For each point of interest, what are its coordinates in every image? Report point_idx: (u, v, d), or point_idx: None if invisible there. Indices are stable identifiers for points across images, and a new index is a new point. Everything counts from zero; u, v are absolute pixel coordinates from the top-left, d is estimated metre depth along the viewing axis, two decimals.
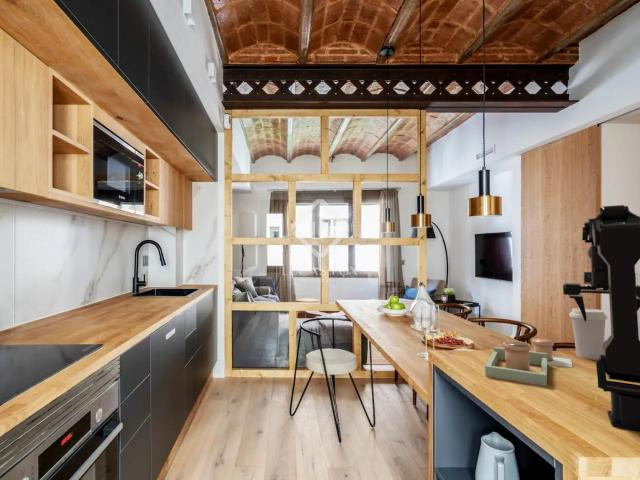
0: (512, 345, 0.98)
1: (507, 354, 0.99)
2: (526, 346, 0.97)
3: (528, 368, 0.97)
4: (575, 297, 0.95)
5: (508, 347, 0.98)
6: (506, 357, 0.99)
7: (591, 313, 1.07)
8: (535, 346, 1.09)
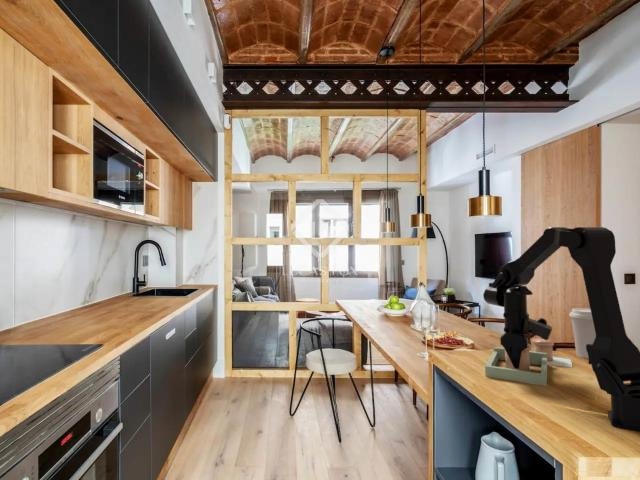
0: None
1: (507, 354, 0.99)
2: None
3: (528, 368, 0.97)
4: None
5: None
6: (506, 357, 0.99)
7: None
8: (535, 346, 1.09)
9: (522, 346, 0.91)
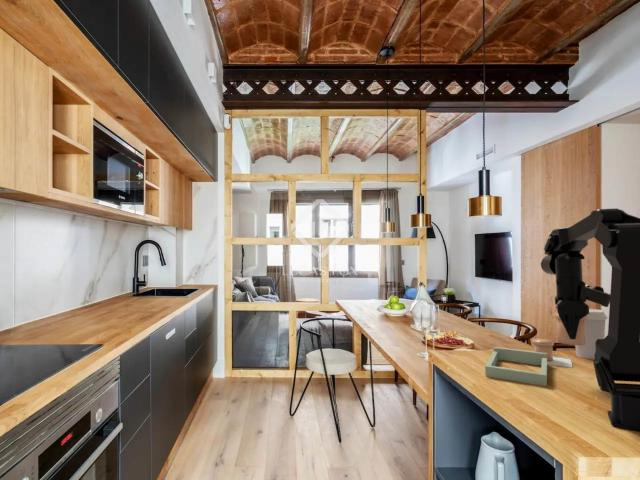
0: None
1: (561, 324, 0.91)
2: None
3: (585, 339, 0.89)
4: (556, 307, 0.98)
5: None
6: (559, 328, 0.92)
7: (591, 313, 1.07)
8: (535, 346, 1.09)
9: (583, 312, 0.83)
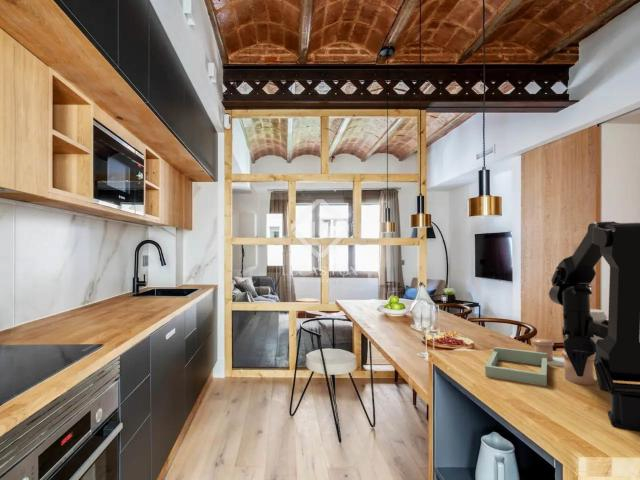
0: None
1: (568, 364, 0.90)
2: None
3: (592, 379, 0.88)
4: (563, 337, 0.98)
5: None
6: (567, 367, 0.91)
7: (591, 313, 1.07)
8: (535, 346, 1.09)
9: (590, 350, 0.82)
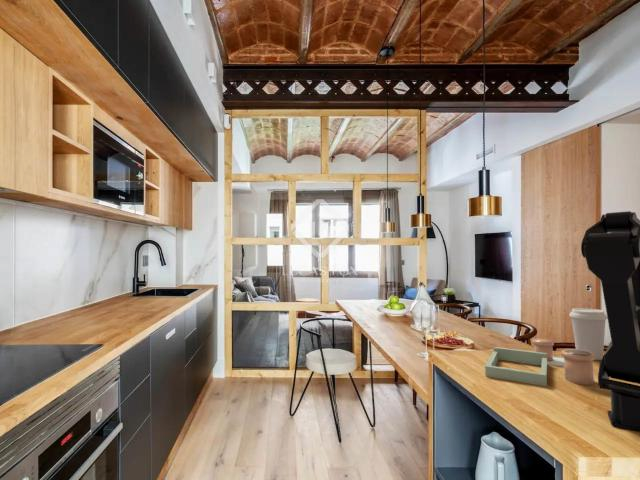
0: (574, 354, 0.90)
1: (568, 364, 0.90)
2: (590, 355, 0.88)
3: (592, 379, 0.88)
4: None
5: (569, 356, 0.89)
6: (566, 367, 0.91)
7: (591, 313, 1.07)
8: (535, 346, 1.09)
9: None
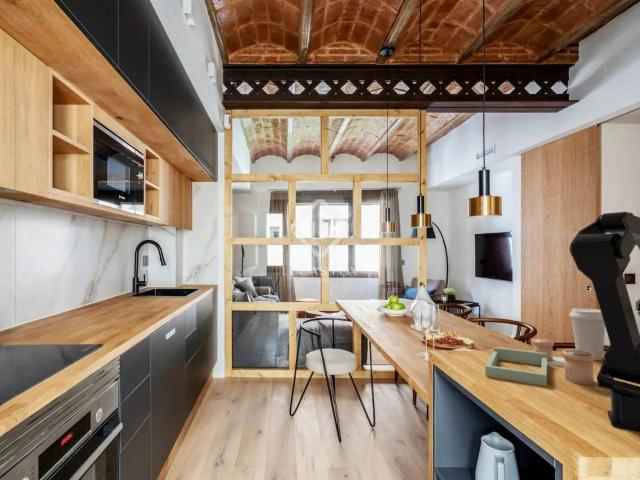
0: (574, 354, 0.89)
1: (568, 364, 0.90)
2: (590, 355, 0.88)
3: (592, 379, 0.88)
4: (639, 313, 0.84)
5: (570, 356, 0.89)
6: (566, 367, 0.91)
7: (591, 313, 1.07)
8: (535, 346, 1.09)
9: None
